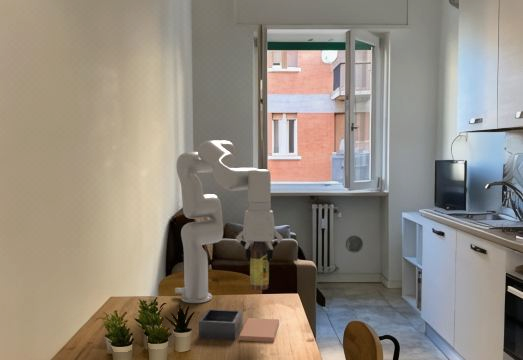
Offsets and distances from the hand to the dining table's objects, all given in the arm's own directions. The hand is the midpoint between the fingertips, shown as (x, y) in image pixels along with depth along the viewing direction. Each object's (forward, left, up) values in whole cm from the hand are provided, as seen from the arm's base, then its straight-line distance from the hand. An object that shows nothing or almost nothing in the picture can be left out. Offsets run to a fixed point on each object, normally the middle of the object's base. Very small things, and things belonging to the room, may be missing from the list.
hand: (259, 259), depth 159 cm
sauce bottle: (0, 0, -10) cm, 10 cm away
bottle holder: (-13, -2, -24) cm, 28 cm away
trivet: (0, 0, -24) cm, 24 cm away
